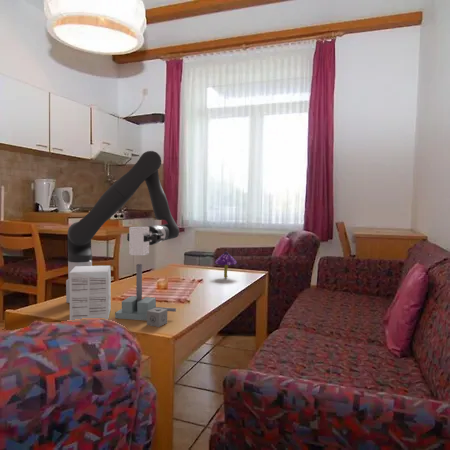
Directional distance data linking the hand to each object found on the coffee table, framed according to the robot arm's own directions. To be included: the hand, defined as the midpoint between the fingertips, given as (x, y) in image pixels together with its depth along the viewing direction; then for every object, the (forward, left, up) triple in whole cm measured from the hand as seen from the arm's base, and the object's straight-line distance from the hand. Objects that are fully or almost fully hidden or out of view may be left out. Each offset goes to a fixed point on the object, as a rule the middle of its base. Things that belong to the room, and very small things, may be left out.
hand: (136, 238), depth 135 cm
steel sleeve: (0, +3, -6) cm, 7 cm away
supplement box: (-17, -2, -29) cm, 34 cm away
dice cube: (+10, -5, -29) cm, 31 cm away
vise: (+4, +2, -29) cm, 29 cm away
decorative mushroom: (+19, +79, -29) cm, 87 cm away
